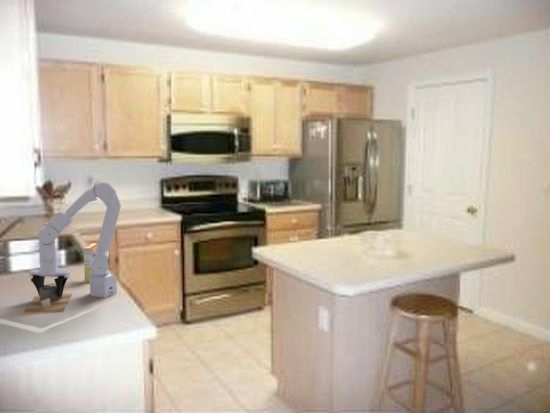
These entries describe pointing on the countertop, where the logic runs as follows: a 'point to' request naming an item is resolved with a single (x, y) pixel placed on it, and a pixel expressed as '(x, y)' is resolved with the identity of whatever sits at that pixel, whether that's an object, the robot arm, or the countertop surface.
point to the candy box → (88, 254)
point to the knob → (49, 292)
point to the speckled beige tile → (45, 303)
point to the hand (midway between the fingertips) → (50, 295)
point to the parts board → (54, 307)
